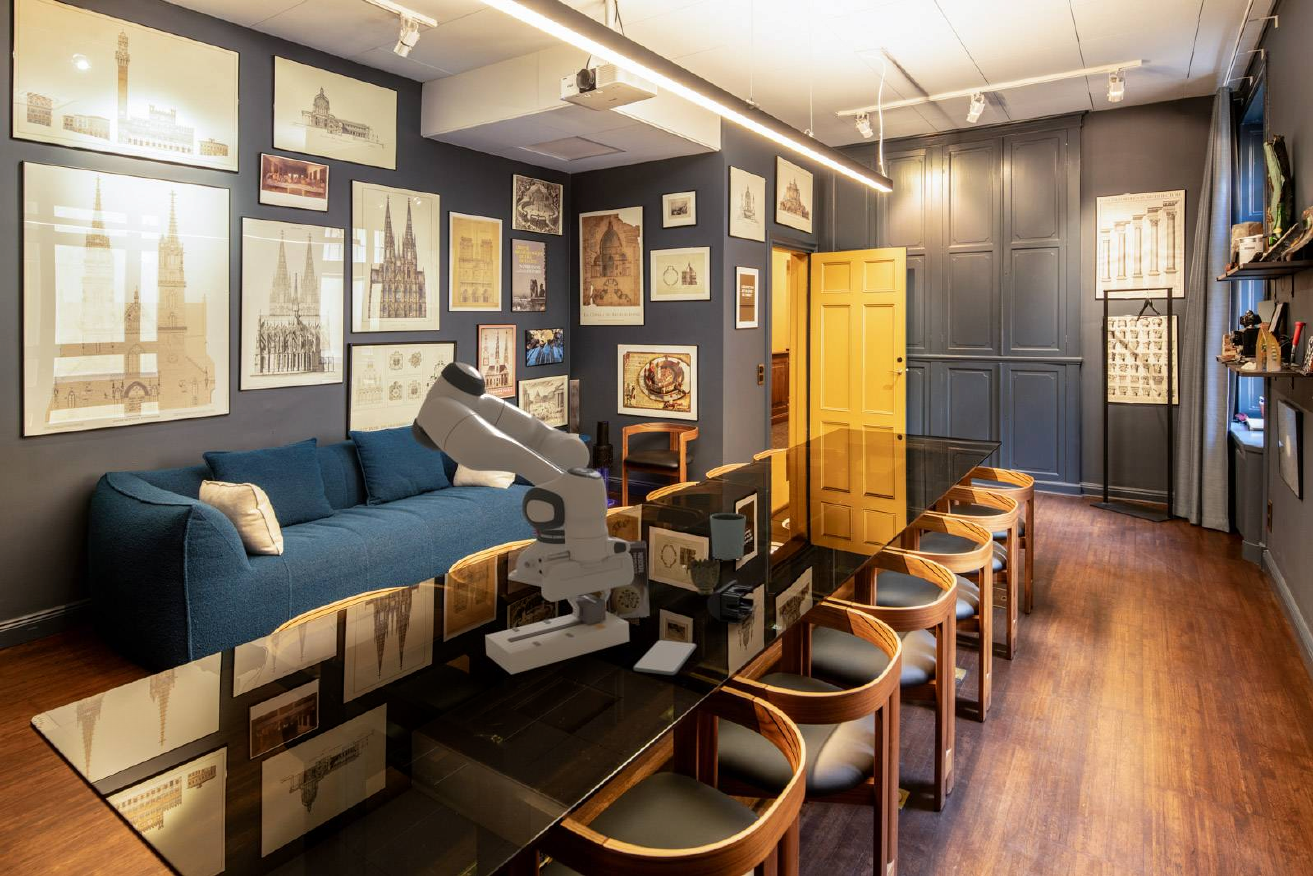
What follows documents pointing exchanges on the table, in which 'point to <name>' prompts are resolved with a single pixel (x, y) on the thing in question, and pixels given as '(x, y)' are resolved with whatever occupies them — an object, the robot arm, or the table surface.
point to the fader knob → (592, 609)
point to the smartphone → (665, 657)
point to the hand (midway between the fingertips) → (590, 612)
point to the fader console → (553, 641)
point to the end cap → (731, 602)
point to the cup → (704, 575)
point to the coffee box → (632, 587)
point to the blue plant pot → (727, 535)
